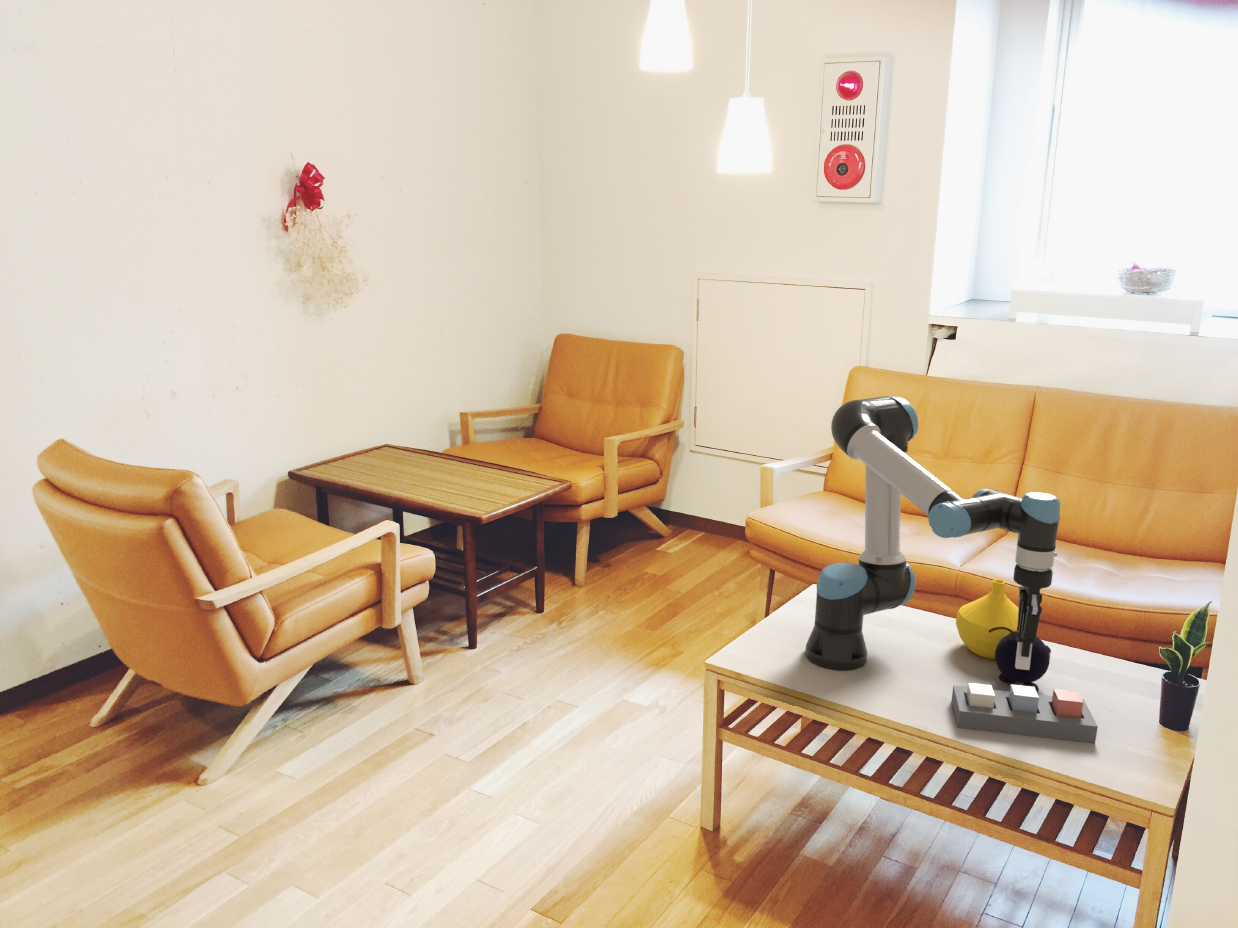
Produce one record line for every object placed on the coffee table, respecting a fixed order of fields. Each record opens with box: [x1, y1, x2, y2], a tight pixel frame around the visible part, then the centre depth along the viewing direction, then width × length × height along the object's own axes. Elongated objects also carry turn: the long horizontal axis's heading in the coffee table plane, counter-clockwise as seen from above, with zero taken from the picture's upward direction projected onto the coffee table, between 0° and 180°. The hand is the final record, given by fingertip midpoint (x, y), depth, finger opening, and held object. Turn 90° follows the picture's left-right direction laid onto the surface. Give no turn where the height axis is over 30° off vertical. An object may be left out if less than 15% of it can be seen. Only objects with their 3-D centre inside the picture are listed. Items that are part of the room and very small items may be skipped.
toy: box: [989, 627, 1052, 693], centre depth 232 cm, size 12×14×15 cm
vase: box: [955, 578, 1019, 660], centre depth 249 cm, size 18×18×19 cm
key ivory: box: [966, 682, 995, 708], centre depth 218 cm, size 5×5×4 cm
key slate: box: [1009, 683, 1039, 713], centre depth 216 cm, size 5×5×4 cm
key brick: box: [1051, 688, 1083, 718], centre depth 214 cm, size 5×5×4 cm
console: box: [951, 684, 1098, 744], centre depth 217 cm, size 28×12×4 cm, turn 78°
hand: (1022, 667), depth 213 cm, fingers closed
